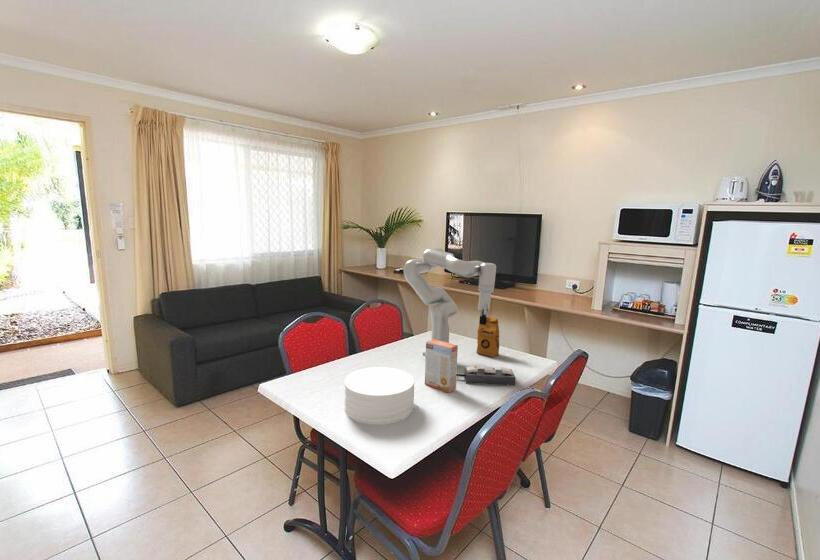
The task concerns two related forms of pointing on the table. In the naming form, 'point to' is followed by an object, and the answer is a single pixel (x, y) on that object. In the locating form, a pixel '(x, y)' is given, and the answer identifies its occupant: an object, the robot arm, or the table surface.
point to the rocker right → (507, 370)
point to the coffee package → (488, 338)
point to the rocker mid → (489, 369)
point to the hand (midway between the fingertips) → (482, 323)
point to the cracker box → (441, 365)
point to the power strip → (488, 377)
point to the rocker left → (472, 369)
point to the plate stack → (379, 395)
